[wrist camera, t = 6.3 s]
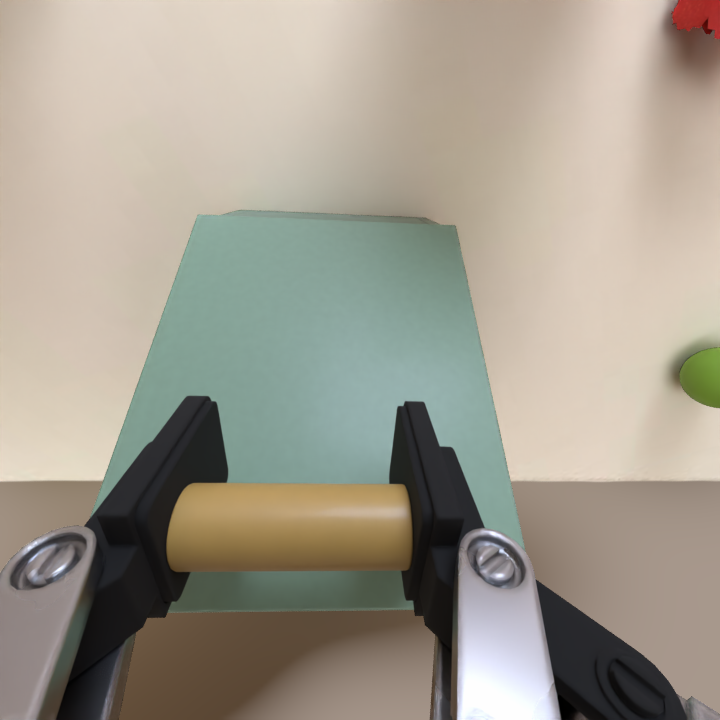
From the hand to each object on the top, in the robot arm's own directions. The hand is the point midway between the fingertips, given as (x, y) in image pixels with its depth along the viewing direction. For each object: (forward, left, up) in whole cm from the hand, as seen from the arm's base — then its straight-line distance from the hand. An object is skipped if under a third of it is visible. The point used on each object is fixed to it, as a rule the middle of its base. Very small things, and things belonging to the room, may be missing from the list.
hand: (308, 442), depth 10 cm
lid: (0, 0, -5) cm, 5 cm away
